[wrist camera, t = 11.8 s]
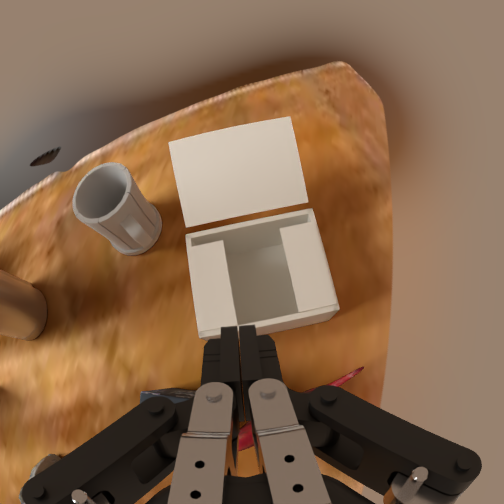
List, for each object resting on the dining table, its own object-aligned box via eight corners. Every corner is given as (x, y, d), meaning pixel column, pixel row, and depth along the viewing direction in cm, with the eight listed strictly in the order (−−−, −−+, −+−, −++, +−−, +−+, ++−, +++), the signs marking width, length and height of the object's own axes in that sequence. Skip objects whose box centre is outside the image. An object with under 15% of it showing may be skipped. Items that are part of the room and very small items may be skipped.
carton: (328, 320, 41) (340, 308, 32) (215, 343, 41) (197, 337, 33) (307, 236, 45) (312, 206, 37) (201, 258, 45) (184, 232, 37)
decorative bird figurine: (227, 425, 37) (211, 442, 28) (347, 357, 39) (366, 354, 30) (238, 444, 36) (225, 465, 27) (358, 375, 38) (380, 378, 29)
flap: (308, 202, 36) (290, 116, 34) (186, 227, 36) (168, 142, 34) (307, 202, 37) (289, 118, 35) (187, 227, 37) (169, 143, 35)
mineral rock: (44, 511, 32) (9, 526, 23) (20, 458, 36) (-19, 465, 26) (94, 509, 33) (59, 529, 24) (66, 450, 37) (25, 460, 27)
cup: (179, 206, 49) (152, 161, 37) (165, 263, 46) (130, 229, 34) (121, 202, 50) (86, 162, 39) (105, 254, 47) (62, 222, 36)
